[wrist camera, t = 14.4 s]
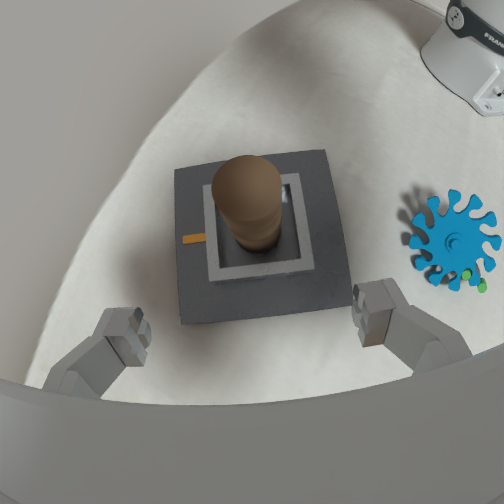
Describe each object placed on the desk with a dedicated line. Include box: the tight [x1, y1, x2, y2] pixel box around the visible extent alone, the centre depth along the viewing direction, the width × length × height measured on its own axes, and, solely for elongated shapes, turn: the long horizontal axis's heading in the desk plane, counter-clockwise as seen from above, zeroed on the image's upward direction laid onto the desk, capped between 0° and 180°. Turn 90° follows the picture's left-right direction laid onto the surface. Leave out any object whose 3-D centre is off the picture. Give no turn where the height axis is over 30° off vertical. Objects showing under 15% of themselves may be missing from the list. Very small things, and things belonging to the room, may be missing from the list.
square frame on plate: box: [174, 149, 353, 324], centre depth 27 cm, size 16×16×3 cm
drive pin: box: [211, 155, 282, 253], centre depth 23 cm, size 4×4×10 cm
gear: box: [409, 189, 502, 293], centre depth 24 cm, size 11×6×10 cm
